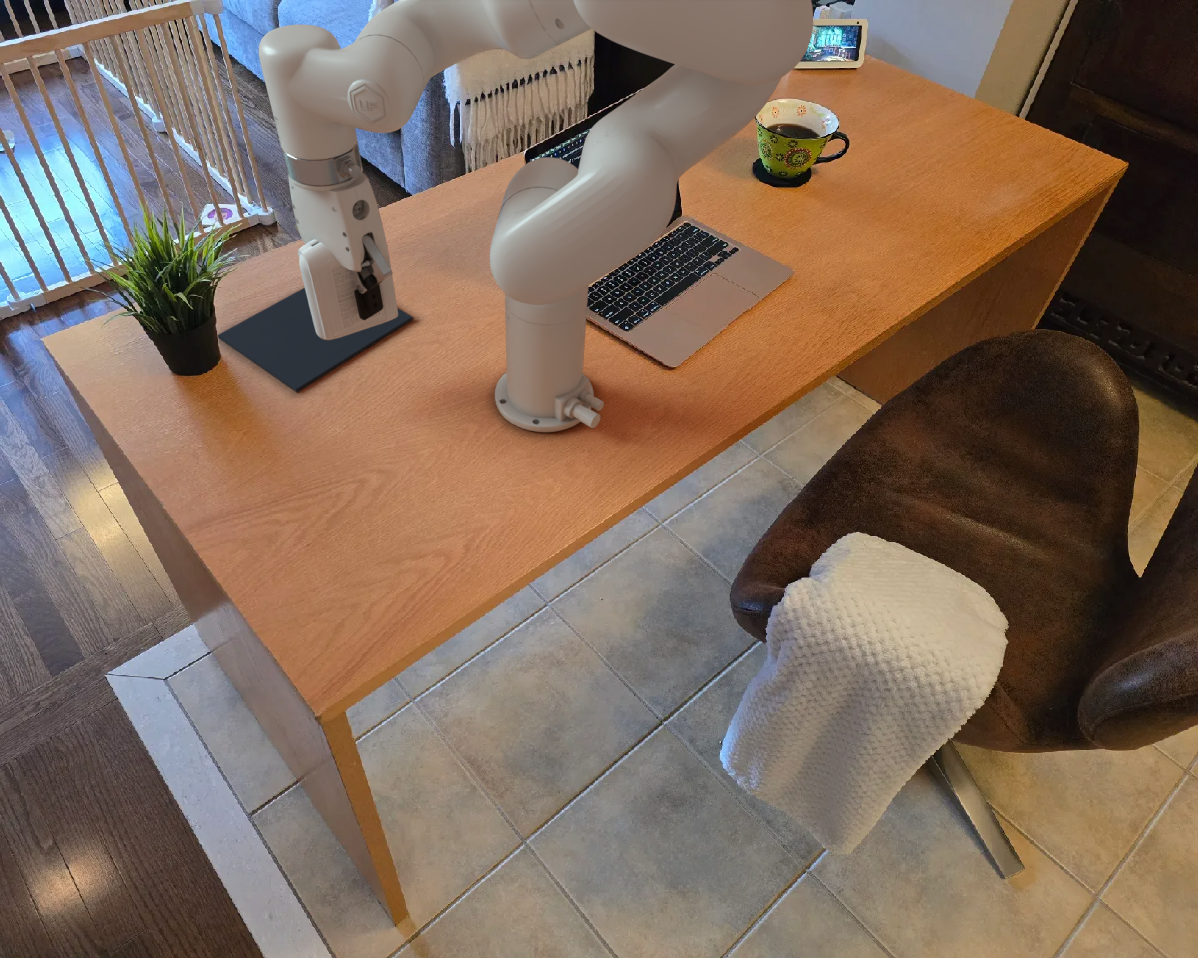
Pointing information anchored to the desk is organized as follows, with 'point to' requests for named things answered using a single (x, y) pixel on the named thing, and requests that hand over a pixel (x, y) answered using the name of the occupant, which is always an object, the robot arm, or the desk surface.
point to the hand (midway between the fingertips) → (353, 302)
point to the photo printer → (339, 293)
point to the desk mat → (300, 341)
